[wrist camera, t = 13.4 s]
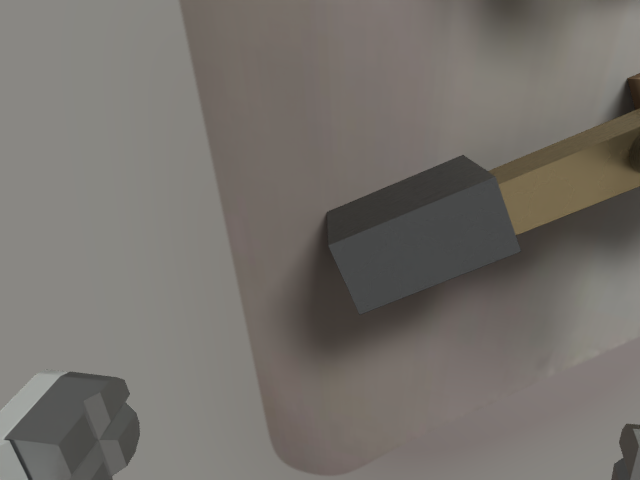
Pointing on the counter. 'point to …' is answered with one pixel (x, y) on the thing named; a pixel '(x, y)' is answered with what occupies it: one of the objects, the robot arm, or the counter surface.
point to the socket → (635, 89)
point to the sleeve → (420, 233)
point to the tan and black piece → (572, 173)
